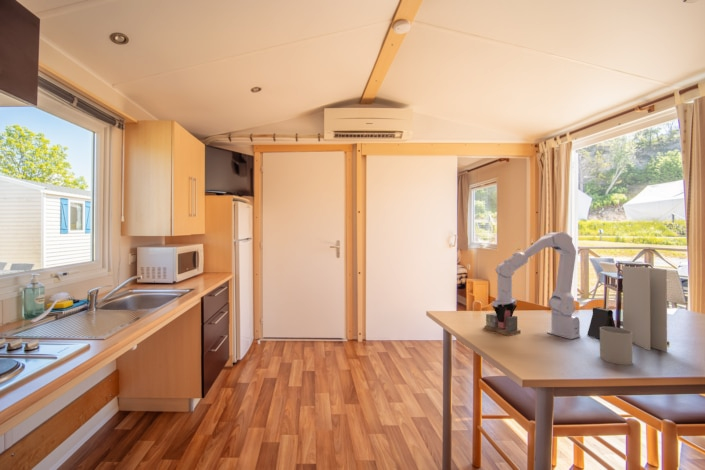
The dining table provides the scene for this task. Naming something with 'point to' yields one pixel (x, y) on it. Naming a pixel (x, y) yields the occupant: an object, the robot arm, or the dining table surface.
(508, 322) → the grey slotted block
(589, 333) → the door stopper
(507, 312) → the burgundy book
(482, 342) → the dining table surface
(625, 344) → the cup
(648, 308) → the brochure
